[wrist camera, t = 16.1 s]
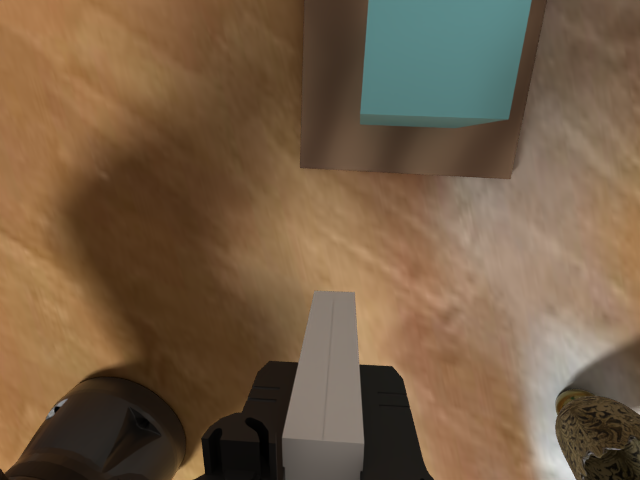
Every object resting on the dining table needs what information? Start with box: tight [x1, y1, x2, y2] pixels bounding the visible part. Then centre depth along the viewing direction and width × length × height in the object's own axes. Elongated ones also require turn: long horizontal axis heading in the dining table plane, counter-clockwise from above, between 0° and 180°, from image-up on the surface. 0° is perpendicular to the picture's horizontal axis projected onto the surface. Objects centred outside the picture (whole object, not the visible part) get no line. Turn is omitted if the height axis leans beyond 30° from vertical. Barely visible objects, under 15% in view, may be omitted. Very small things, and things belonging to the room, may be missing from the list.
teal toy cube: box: [360, 0, 532, 128], centre depth 19 cm, size 7×7×9 cm
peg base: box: [300, 0, 547, 179], centre depth 21 cm, size 16×14×7 cm
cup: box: [555, 389, 640, 480], centre depth 27 cm, size 8×7×8 cm
